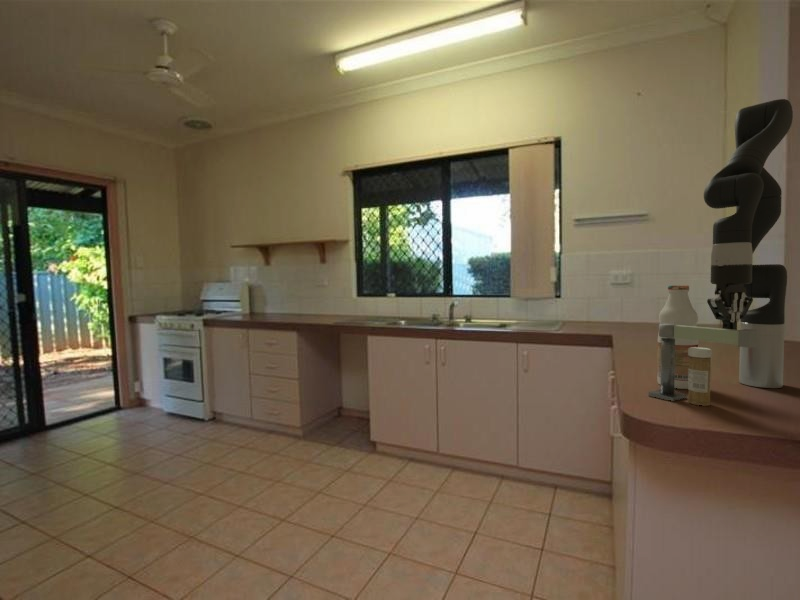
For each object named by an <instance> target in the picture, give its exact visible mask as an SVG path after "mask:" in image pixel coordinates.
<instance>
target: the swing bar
mask: <svg viewBox="0 0 800 600" xmlns="http://www.w3.org/2000/svg"><path fill="white" fill-rule="evenodd" d="M658 333H659V336H660V337H667V338H680V339H689V340H698V342H708V343H719V344H724V345H725V344H726V345H727V344H729V345H736V346H737V347H739V348H740V347H747V348H751V347H755V346H756V334H757V330H751V329H743V330H740V329H737V330H732V329H723V328H717V327H706V326H697V325H696V326H685V325H676V324H660V323H659V324H658Z"/></svg>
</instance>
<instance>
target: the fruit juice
mask: <svg viewBox="0 0 800 600" xmlns="http://www.w3.org/2000/svg"><path fill="white" fill-rule="evenodd" d="M667 291H668V296H667V299H666V300H665V304H664V306H663V307H662V309H661V310H659V311H660V312H659V313H658V321H659V324H676V325H685V326H697V324H698V321H699V315H698V312H697V311H696V310H695V308H694V307H693V305H692V302H691V300H690V298H689V297H690V296H689V294H688V293H689V291H690V286H689V285H687V284H686V285H675V284H674V285H667ZM661 338H667V337H660V336H659V332H658V334H657V368H656V369H657V370H656V372H657V374H656V375H657V377H656V379H657V383H658V384H659V385H660V384H661ZM691 347H699V341H698V340H689V339H680V338H675V384H674V389H676V388H677V389H679V390H689V389H688V374H689V355H688V349H689V348H691Z"/></svg>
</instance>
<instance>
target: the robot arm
mask: <svg viewBox="0 0 800 600" xmlns="http://www.w3.org/2000/svg"><path fill="white" fill-rule="evenodd" d="M793 118H794V117H793V105H792V104H791V101H789V99H785V98H779V99H778V98H777V99H773V100H769V101H766V102H762V103H757V104H753V105H749V106H747V107H743V108H741V109H739V110H738V111H737V113H736V116H735V120H734V138H735V150H734V151H733V152H732V153H731V156H730V157H729V159H728V162H727V163H726V165H725V166H724V167H723V168H722V169H720V170H719V171H718V172H717V173H716V174H715V175H714V176H712V177H711V178H710V179H709V181H708V182H707V183H706V186H705V188H704V190H703V200H704V202H705V204H706V205H707V206H708V207H709V208H712V209H717V210H718V209H725V208H734V207H735V208H736V212H735V213H734V214H731V215H729V216H727V217H722V218H719V219H716V220H715V221H714V223H713V225H712V249H711V254H710V284H713V285H716V286H715V290H714V296H713V298H708V299H707V300H706V301H707V302H706V303H707V304H708V307H709V309H710V311H711V312H712V314H713V316H714V319H716V320H718V321H720V322H722V329H732V330H738V323H739V322H740V324H739V330H743V329H751V330H757V334H756V346H755V347H751V348H747V347H739V362H738V363H739V369H738V370H739V371H738V382H739V383H740V384H743V385H746V386H749V387H750V386H751V387H757V388H765V389H766V388H767V389H779V388H783V387H784V386H783V383H784V354H785V353H784V352H785V351H784V350H785V349H784V348H785V322H786V321H785V316H786V315H785V305H786V294H787V284H788V271H787V269H786V266H785V265H784V264H779V263H778V264H776V263H775V264H773V263H772V264H753V260H754V259H753V255H754V252H755V251H756V249H757V248H758V246H759V245H760V243H761V242H762V240H763V239H764V238H765V236H766V235H767V234H768V233H769V232H770V230H772V228H773V227H774V226H775V225H776V223H777V222H778V220H779V219H780V217H781V214H782V188H781V186H780V184H779V183H778V182H777V180H776V179H775V178H774V176H772V175H771V174H770V172H769V171H767V170H766V168H765V167H764V166H765V164H766V162H767V160H768V157H770V155H771V153H772V152H773V151H774V150H775V149H776V147H778V145H779V144H780V143H781V142H782V140H783V139H784V138H785V137H786V135H787V134H788V132H789V131H790V129H791V126H792V125H793ZM754 299H769V301H768V302H767V303H766V304H764V305H762V306H759V307H757V308H753V309H750V307H751V305H752V303H753V301H754Z"/></svg>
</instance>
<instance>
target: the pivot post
mask: <svg viewBox="0 0 800 600" xmlns="http://www.w3.org/2000/svg"><path fill="white" fill-rule="evenodd" d="M674 384H675V338H661V384H659V385H660V387H659V389H655V390H652V391H651V390H650V391H648V397H650V398H651V397H652V398H655V397H656V399H659V398H660V400H663V399H664V401H668V400H671V401H670V402H672V401H674V402H676V401H675V400H678V401H680V400H679V399H681V400H684V399H687V393H683V392H679V391H675V388H674ZM683 398H684V399H683Z"/></svg>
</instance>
